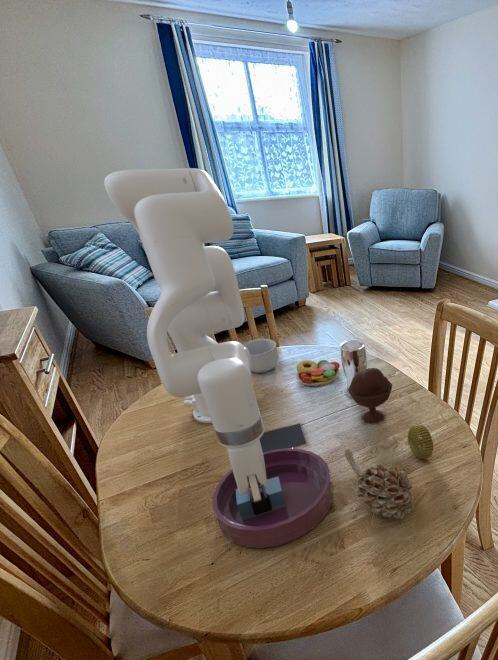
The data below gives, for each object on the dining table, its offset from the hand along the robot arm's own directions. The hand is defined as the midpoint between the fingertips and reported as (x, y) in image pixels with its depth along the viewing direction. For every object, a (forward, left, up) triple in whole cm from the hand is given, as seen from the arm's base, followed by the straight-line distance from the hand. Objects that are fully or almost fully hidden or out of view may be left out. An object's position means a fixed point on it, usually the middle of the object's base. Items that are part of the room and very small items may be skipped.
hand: (261, 501), depth 80 cm
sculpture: (+29, +18, -2) cm, 35 cm away
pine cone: (+21, +5, -2) cm, 22 cm away
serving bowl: (+2, +1, -2) cm, 3 cm away
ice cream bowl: (+15, +32, -2) cm, 36 cm away
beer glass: (+8, +44, -2) cm, 45 cm away
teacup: (-27, +56, -2) cm, 62 cm away
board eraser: (0, 0, -1) cm, 1 cm away
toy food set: (-6, +52, -2) cm, 53 cm away
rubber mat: (-7, +20, -2) cm, 21 cm away
